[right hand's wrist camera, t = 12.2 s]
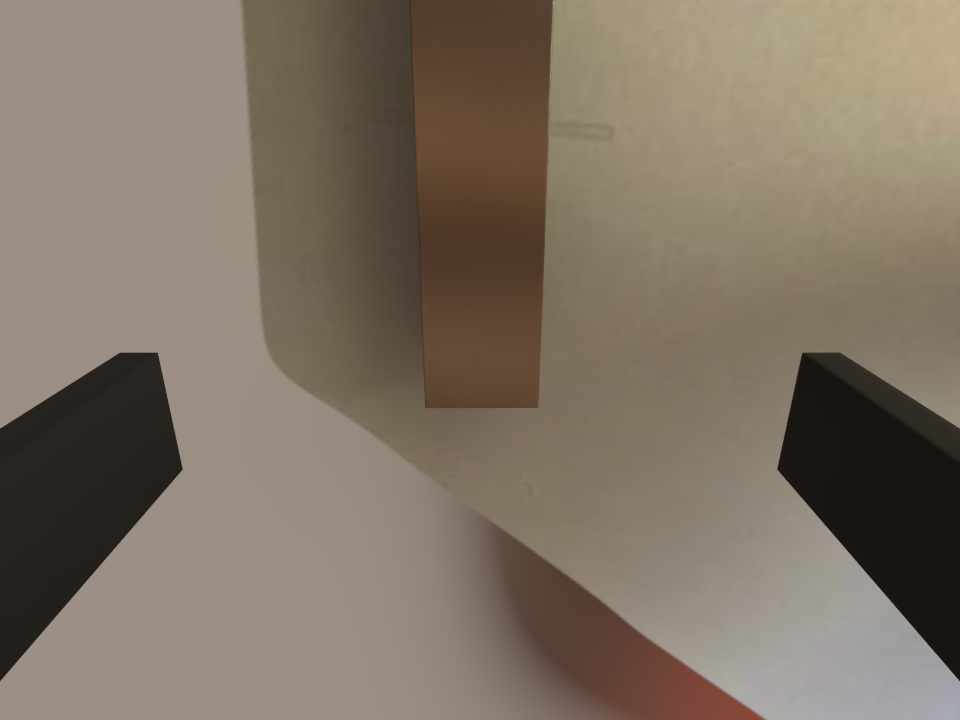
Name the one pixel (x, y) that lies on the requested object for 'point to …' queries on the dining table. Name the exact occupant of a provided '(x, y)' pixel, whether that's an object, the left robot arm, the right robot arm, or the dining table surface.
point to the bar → (481, 195)
